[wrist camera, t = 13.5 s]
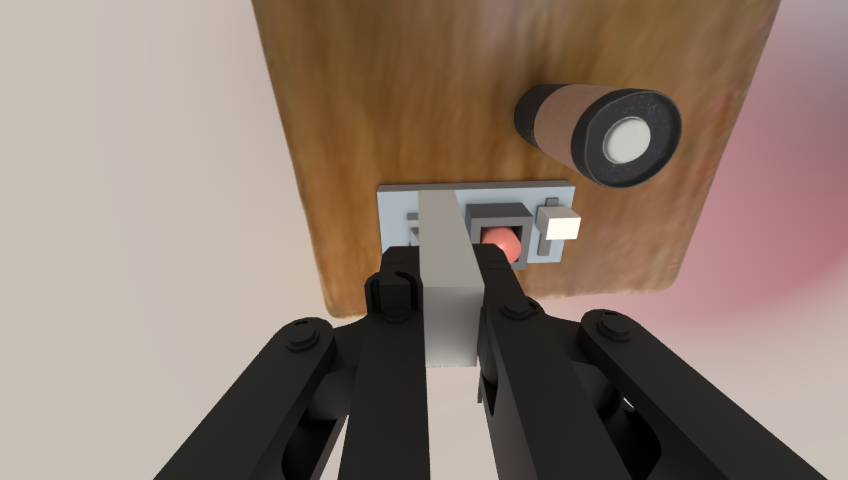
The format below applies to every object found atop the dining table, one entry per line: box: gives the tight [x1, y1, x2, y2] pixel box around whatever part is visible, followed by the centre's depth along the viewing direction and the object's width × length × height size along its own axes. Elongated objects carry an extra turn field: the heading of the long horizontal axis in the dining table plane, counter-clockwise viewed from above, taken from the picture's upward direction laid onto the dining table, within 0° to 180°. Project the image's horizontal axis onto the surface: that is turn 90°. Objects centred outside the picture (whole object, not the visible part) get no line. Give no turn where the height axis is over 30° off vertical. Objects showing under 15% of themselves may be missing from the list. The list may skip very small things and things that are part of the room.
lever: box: [411, 228, 419, 246], centre depth 42 cm, size 3×3×8 cm
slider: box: [536, 206, 581, 240], centre depth 43 cm, size 3×4×4 cm
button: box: [480, 226, 521, 264], centre depth 43 cm, size 5×5×6 cm
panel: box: [377, 180, 575, 270], centre depth 46 cm, size 12×27×8 cm, turn 91°
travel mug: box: [514, 84, 682, 189], centre depth 34 cm, size 8×8×20 cm
